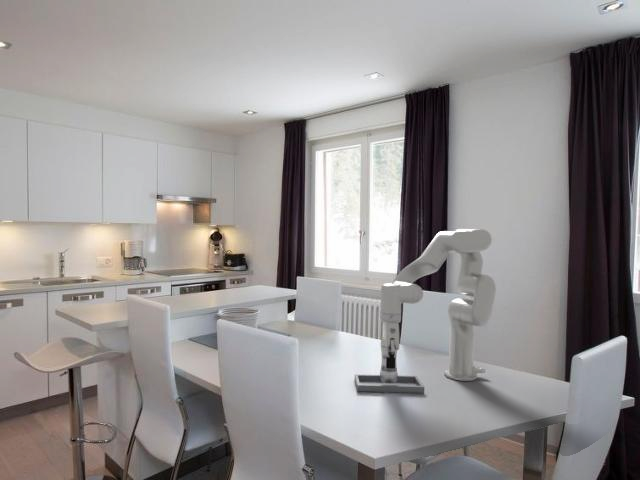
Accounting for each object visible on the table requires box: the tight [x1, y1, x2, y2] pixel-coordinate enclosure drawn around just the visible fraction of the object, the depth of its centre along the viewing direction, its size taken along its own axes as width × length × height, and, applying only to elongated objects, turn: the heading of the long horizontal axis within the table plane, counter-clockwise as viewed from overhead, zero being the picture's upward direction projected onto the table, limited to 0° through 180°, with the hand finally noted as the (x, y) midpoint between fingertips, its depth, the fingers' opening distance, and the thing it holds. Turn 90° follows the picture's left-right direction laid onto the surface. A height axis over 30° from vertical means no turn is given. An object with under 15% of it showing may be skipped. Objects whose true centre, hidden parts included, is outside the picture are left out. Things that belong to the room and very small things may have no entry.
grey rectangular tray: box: [354, 373, 425, 395], centre depth 164 cm, size 24×12×3 cm, turn 91°
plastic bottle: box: [379, 330, 399, 383], centre depth 163 cm, size 6×7×20 cm
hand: (389, 365), depth 164 cm, fingers closed on plastic bottle, 5 cm apart
